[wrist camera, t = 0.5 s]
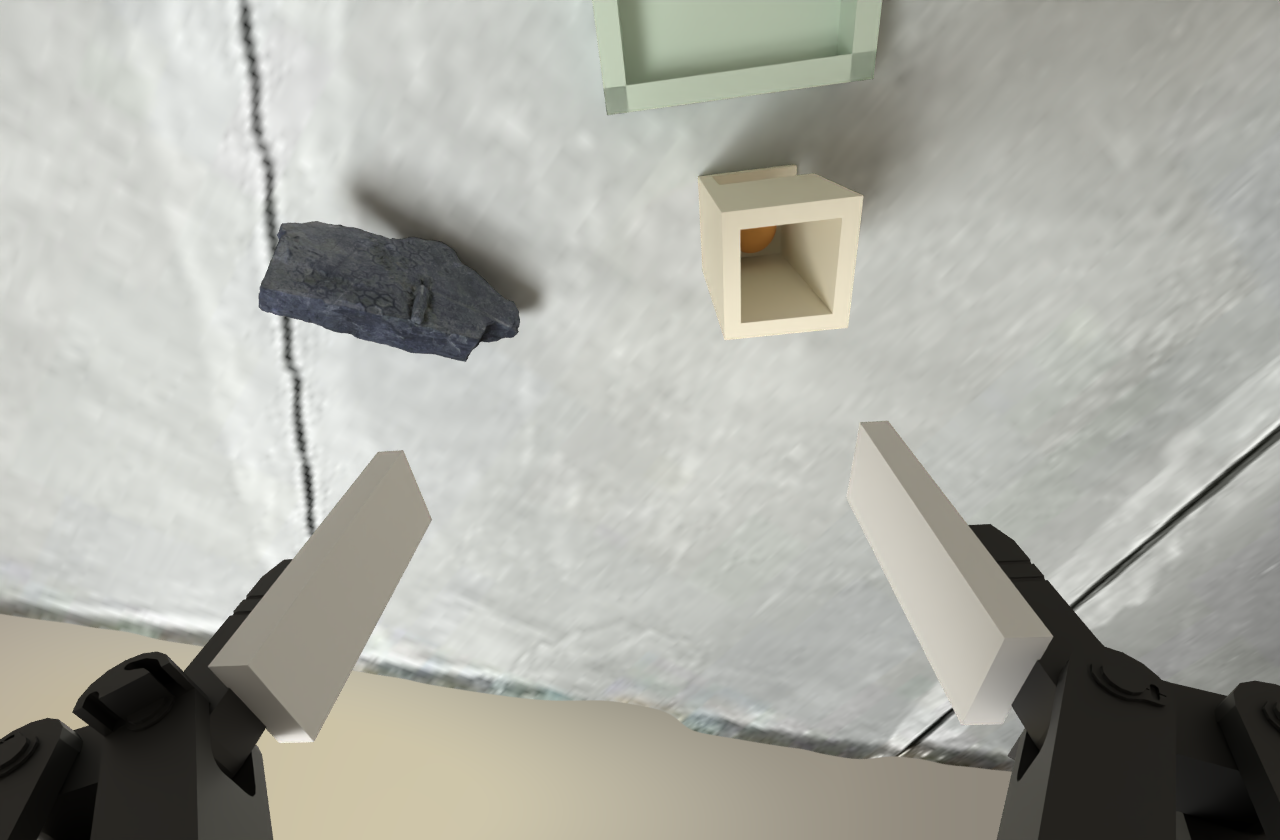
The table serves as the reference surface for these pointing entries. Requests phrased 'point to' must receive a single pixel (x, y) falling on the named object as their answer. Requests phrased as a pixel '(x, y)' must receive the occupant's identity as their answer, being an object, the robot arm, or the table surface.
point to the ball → (756, 238)
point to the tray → (729, 48)
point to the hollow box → (779, 251)
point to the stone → (384, 290)
